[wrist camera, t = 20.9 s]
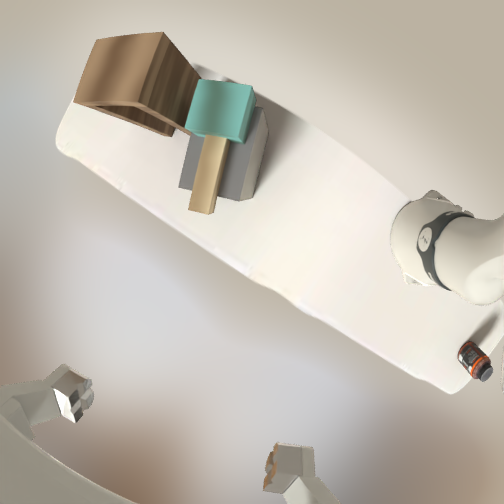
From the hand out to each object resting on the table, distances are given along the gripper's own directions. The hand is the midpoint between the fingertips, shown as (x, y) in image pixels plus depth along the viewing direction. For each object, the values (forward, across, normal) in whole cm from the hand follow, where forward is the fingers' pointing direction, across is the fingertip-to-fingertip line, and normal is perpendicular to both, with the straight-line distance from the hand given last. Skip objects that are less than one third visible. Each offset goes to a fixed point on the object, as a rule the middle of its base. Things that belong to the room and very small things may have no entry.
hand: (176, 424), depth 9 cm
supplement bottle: (+41, -57, +13) cm, 72 cm away
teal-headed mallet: (+26, +7, -12) cm, 30 cm away
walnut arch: (+41, +18, -19) cm, 49 cm away
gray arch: (+41, +7, -13) cm, 44 cm away
